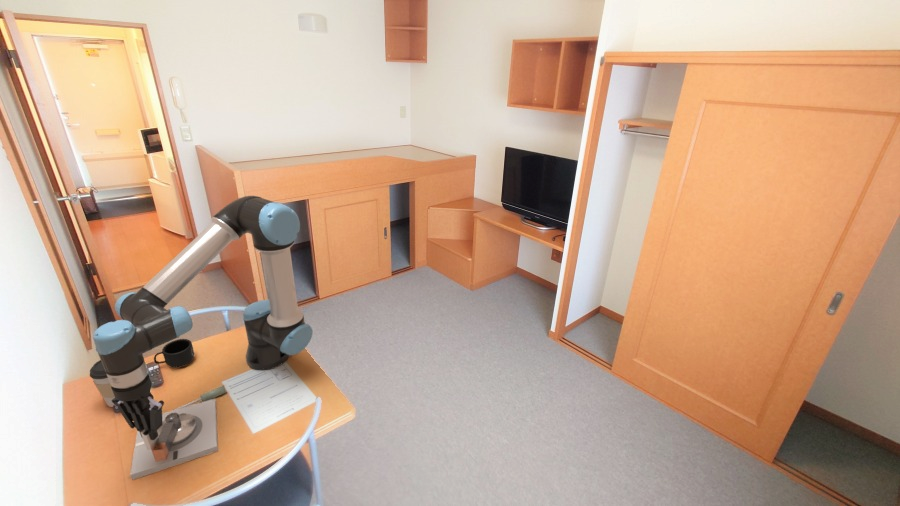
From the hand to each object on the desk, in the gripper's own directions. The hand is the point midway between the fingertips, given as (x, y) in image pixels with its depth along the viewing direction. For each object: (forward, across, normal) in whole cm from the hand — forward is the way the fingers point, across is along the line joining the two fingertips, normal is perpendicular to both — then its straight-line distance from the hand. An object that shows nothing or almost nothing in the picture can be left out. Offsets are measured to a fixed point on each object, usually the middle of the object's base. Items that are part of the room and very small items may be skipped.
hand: (153, 445), depth 109 cm
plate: (+6, -1, +8) cm, 10 cm away
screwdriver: (+5, -5, +23) cm, 24 cm away
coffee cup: (+7, -30, +17) cm, 35 cm away
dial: (+4, 0, +5) cm, 7 cm away
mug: (+7, -25, +36) cm, 44 cm away
